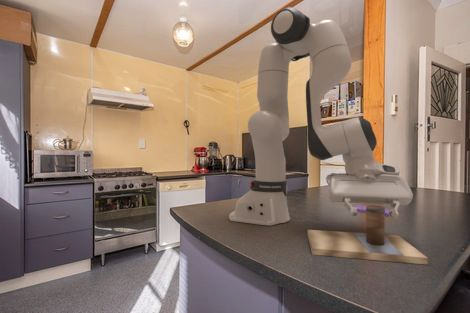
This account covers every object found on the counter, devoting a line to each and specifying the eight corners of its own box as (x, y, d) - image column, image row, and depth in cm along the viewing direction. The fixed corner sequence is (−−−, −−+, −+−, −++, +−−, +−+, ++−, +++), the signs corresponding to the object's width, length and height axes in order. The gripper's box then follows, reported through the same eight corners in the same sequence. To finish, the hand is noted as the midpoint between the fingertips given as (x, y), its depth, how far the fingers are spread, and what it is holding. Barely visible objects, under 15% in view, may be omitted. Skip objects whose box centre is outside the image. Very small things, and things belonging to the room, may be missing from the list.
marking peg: (369, 244, 58) (369, 208, 58) (363, 238, 62) (364, 205, 62) (387, 246, 57) (387, 209, 57) (380, 240, 61) (381, 205, 61)
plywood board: (312, 254, 56) (312, 247, 56) (307, 234, 70) (307, 229, 70) (427, 264, 51) (427, 257, 51) (398, 240, 65) (398, 235, 65)
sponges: (357, 209, 103) (357, 204, 103) (391, 214, 94) (391, 209, 94) (352, 212, 98) (352, 207, 98) (388, 217, 89) (388, 212, 89)
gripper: (326, 166, 69) (332, 207, 60) (405, 168, 65) (424, 212, 56) (324, 179, 74) (329, 219, 65) (397, 182, 69) (414, 224, 60)
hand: (374, 216), depth 60 cm, fingers open, 8 cm apart
